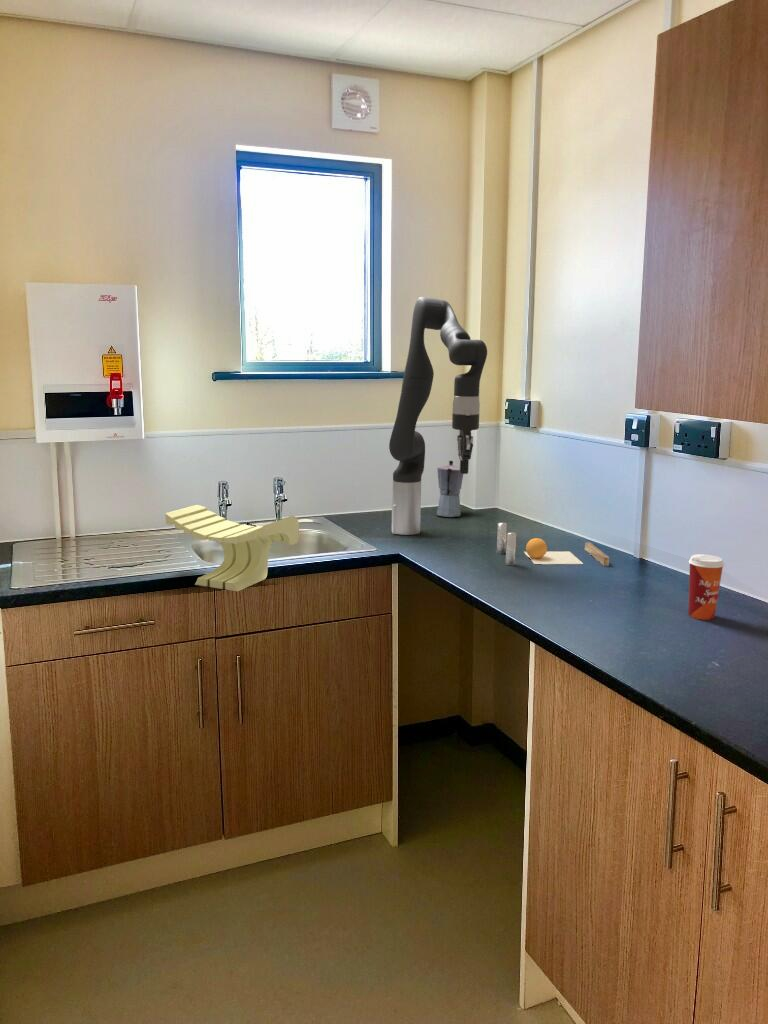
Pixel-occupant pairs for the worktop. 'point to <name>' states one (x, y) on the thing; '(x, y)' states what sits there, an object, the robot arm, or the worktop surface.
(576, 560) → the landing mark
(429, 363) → the robot arm
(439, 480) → the moka pot
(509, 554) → the post
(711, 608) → the paper cup
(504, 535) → the post
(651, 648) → the worktop surface
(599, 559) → the wooden stick
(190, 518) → the slatted curved stool
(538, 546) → the ball
